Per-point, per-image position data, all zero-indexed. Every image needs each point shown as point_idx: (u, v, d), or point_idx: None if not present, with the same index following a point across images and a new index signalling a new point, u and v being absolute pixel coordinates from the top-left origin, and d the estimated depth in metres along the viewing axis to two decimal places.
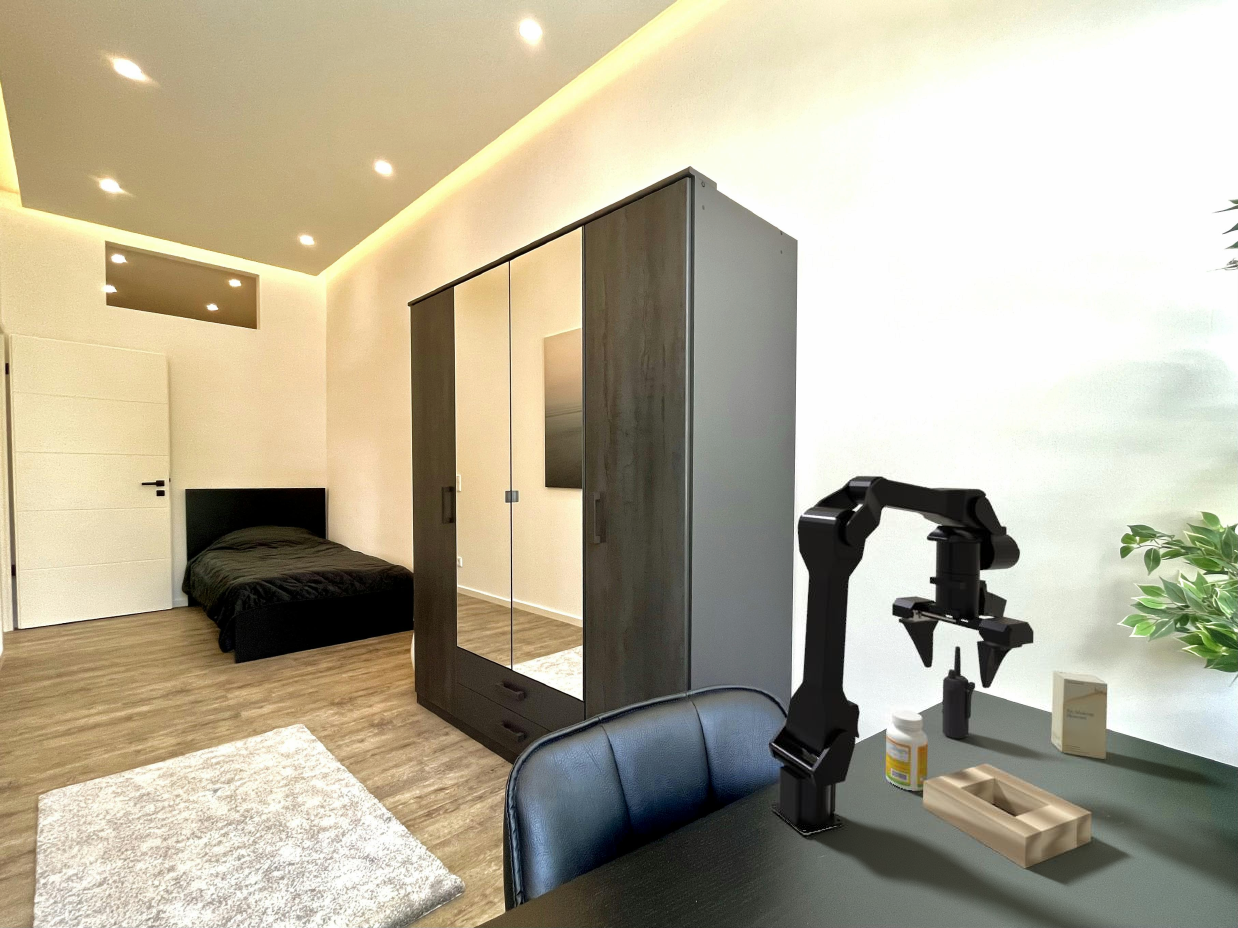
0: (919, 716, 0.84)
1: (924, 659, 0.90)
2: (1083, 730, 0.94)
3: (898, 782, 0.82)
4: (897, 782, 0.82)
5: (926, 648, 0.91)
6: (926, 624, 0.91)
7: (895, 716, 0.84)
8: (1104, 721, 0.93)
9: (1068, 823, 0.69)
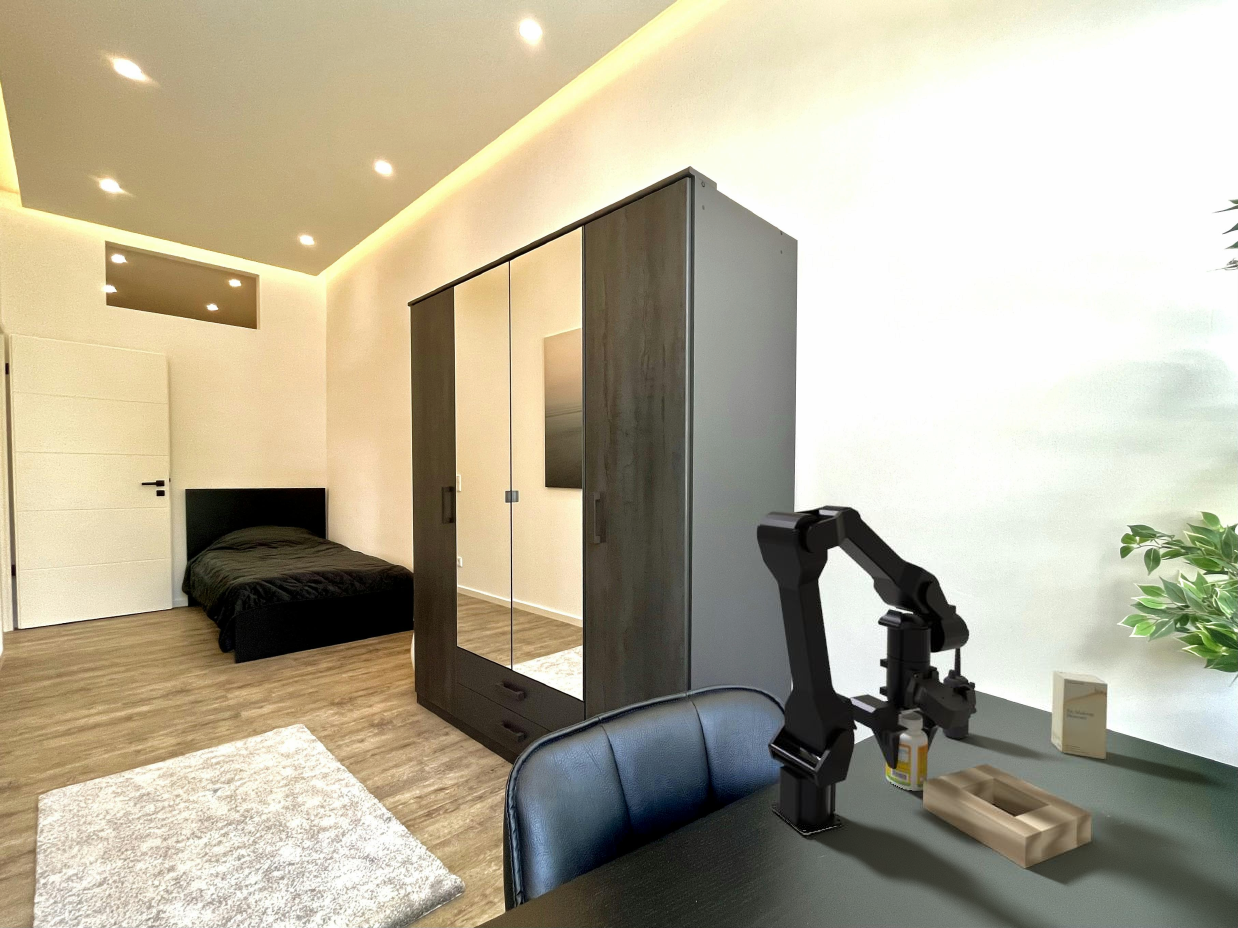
0: (919, 716, 0.84)
1: None
2: (1083, 730, 0.94)
3: (898, 782, 0.82)
4: (897, 782, 0.82)
5: None
6: (923, 715, 0.86)
7: None
8: (1104, 721, 0.93)
9: (1068, 823, 0.69)
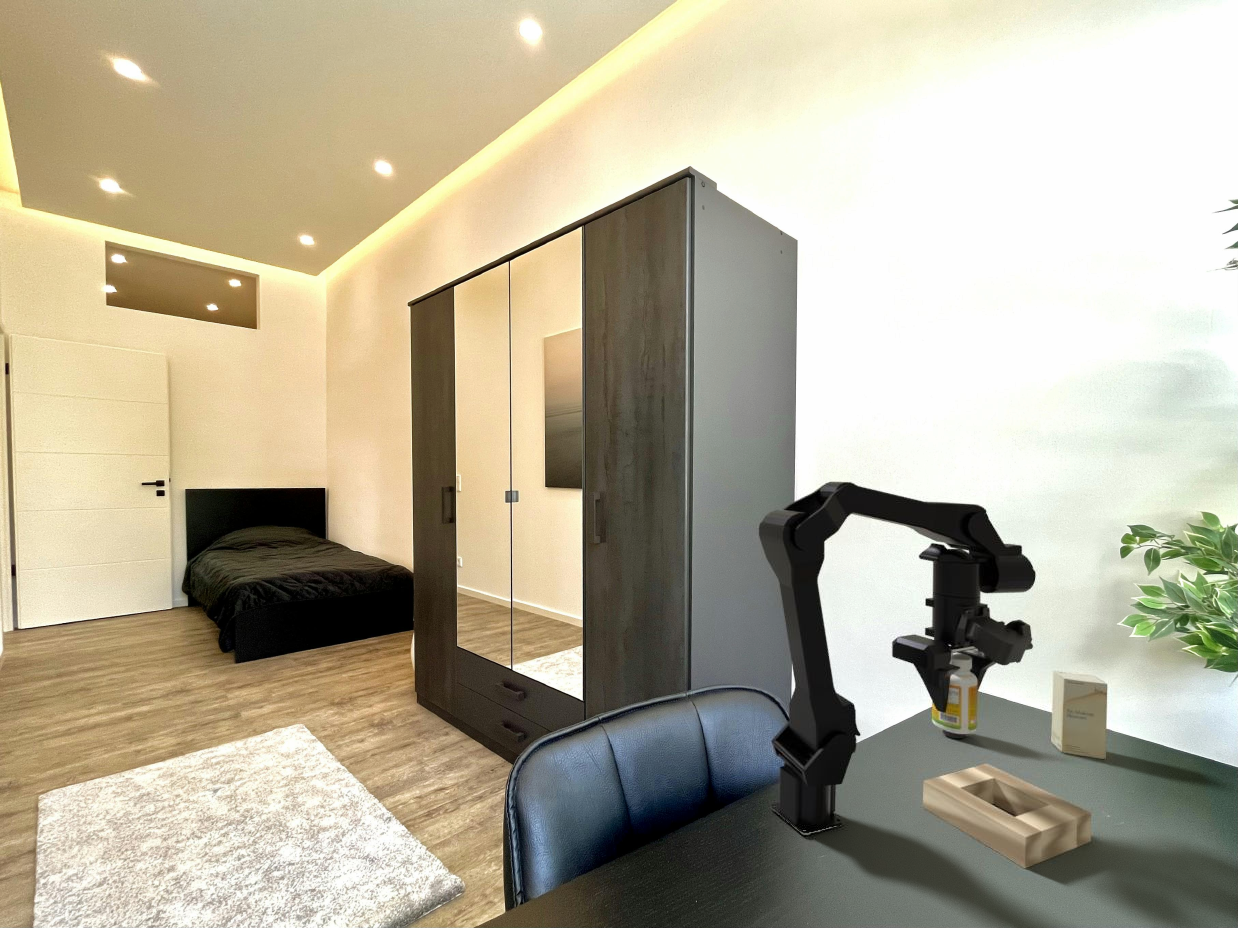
0: (968, 656, 0.79)
1: None
2: (1083, 730, 0.94)
3: (947, 726, 0.78)
4: (946, 725, 0.78)
5: None
6: None
7: None
8: (1104, 721, 0.93)
9: (1068, 823, 0.69)
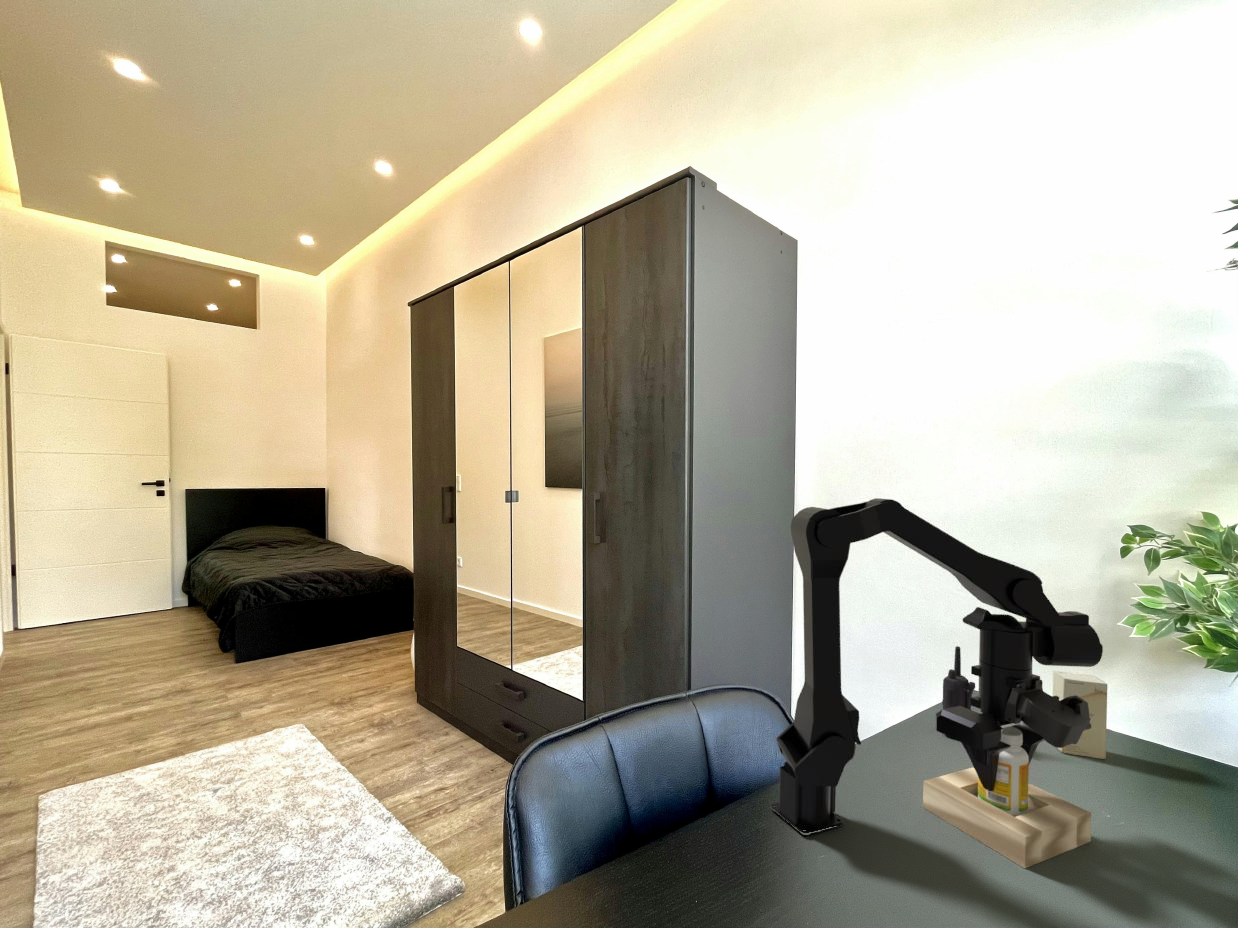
0: (1018, 731, 0.74)
1: None
2: None
3: (995, 806, 0.73)
4: (994, 805, 0.73)
5: None
6: (1020, 730, 0.76)
7: None
8: (1104, 721, 0.93)
9: (1068, 823, 0.69)
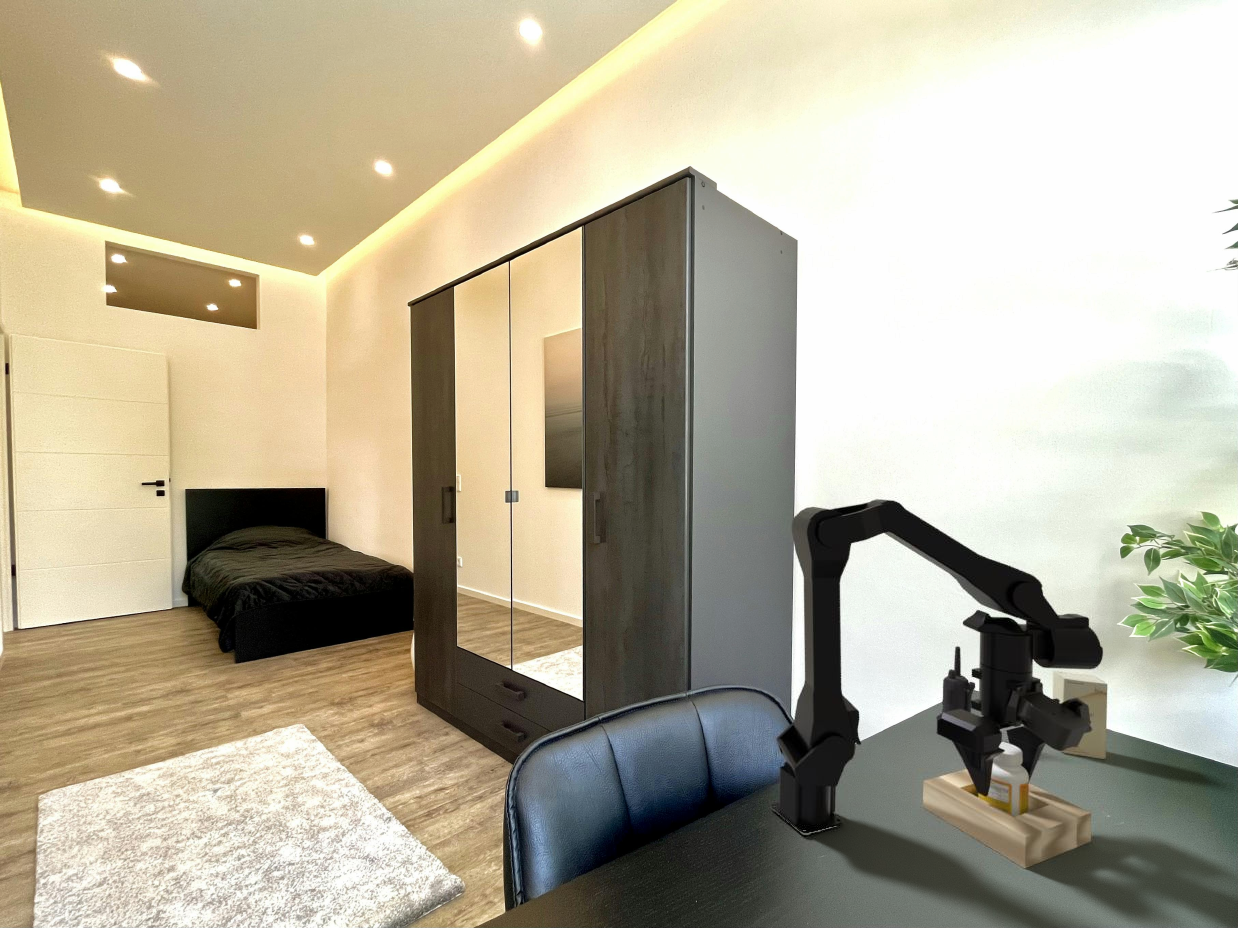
0: (1018, 749, 0.74)
1: None
2: None
3: None
4: None
5: None
6: (1026, 731, 0.77)
7: None
8: (1104, 721, 0.93)
9: (1068, 823, 0.69)
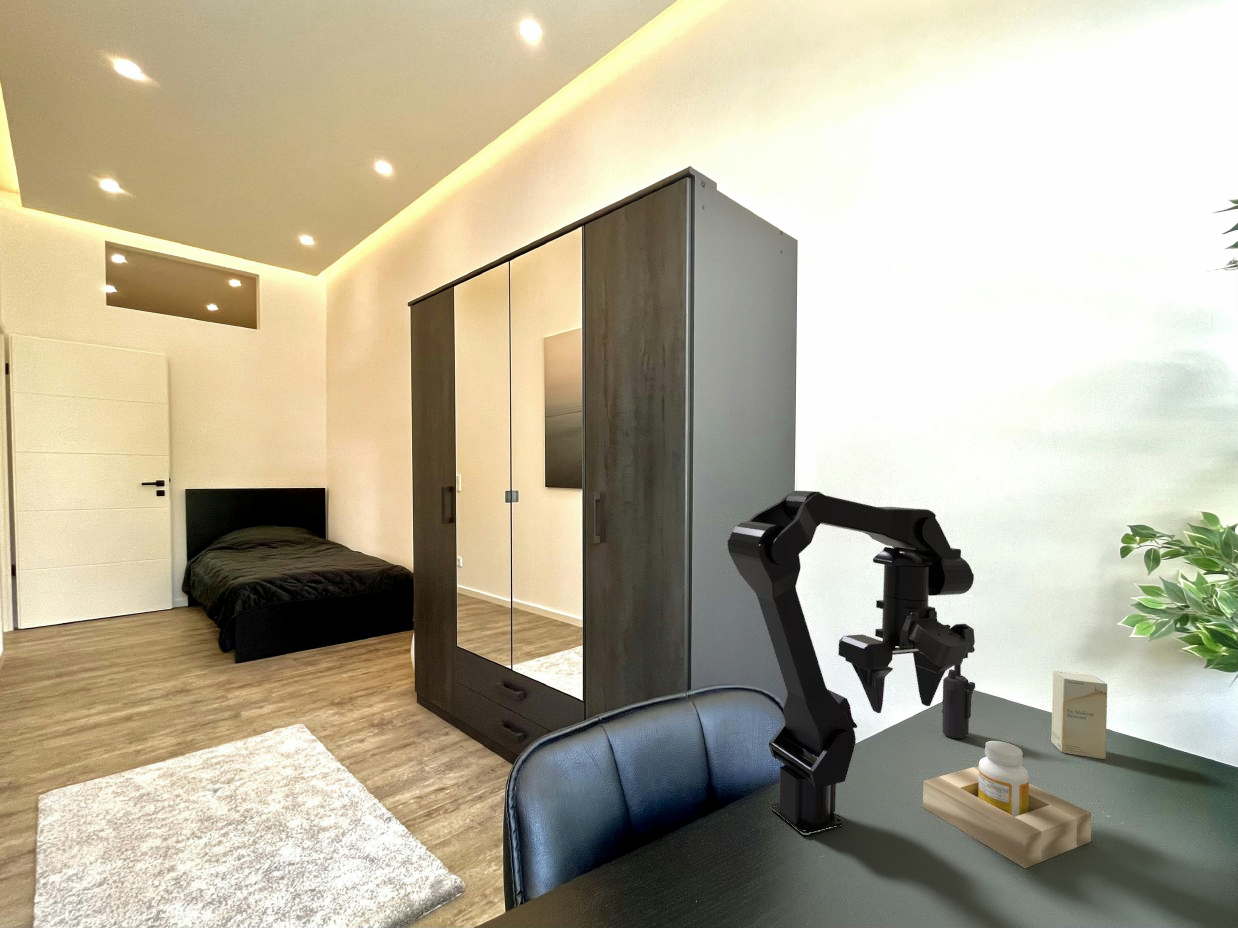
0: (1018, 749, 0.74)
1: (920, 694, 0.84)
2: (1083, 730, 0.94)
3: None
4: None
5: (923, 683, 0.84)
6: (929, 658, 0.83)
7: (991, 749, 0.74)
8: (1104, 721, 0.93)
9: (1068, 823, 0.69)
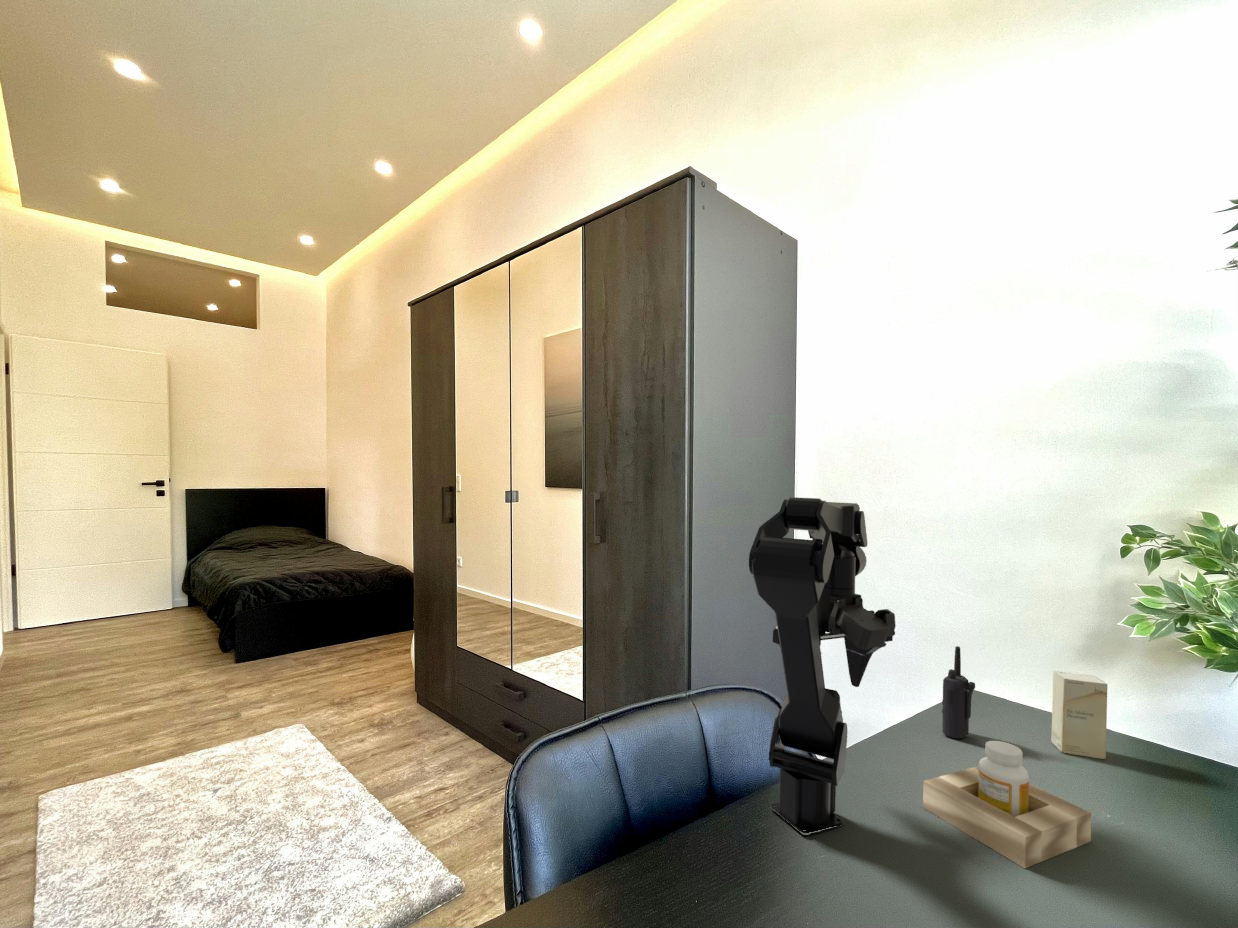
0: (1018, 749, 0.74)
1: (850, 675, 0.90)
2: (1083, 730, 0.94)
3: None
4: None
5: (853, 665, 0.89)
6: None
7: (991, 749, 0.74)
8: (1104, 721, 0.93)
9: (1068, 823, 0.69)
